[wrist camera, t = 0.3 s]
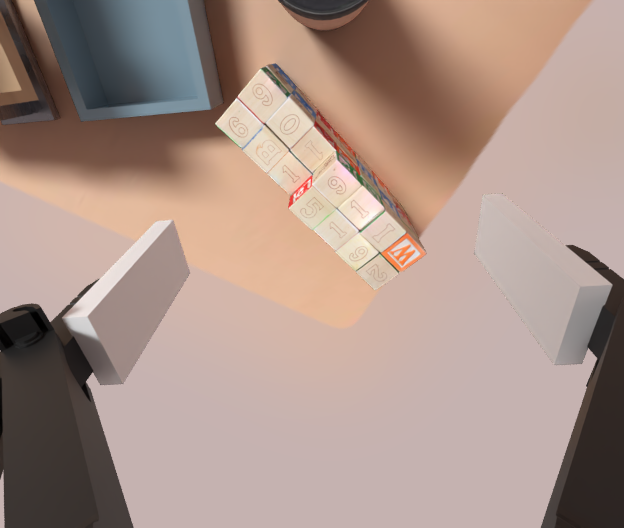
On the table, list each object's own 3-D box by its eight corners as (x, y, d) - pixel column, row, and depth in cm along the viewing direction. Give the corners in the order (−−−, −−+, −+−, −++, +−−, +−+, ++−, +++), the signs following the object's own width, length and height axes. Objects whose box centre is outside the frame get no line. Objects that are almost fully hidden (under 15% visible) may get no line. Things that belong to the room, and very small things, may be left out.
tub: (107, 113, 40) (81, 121, 35) (49, -53, 33) (7, -68, 28) (223, 102, 39) (210, 109, 34) (189, -71, 32) (168, -90, 27)
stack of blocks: (236, 107, 39) (202, 129, 28) (275, 61, 37) (255, 66, 26) (364, 238, 46) (375, 293, 36) (404, 206, 44) (428, 255, 33)
